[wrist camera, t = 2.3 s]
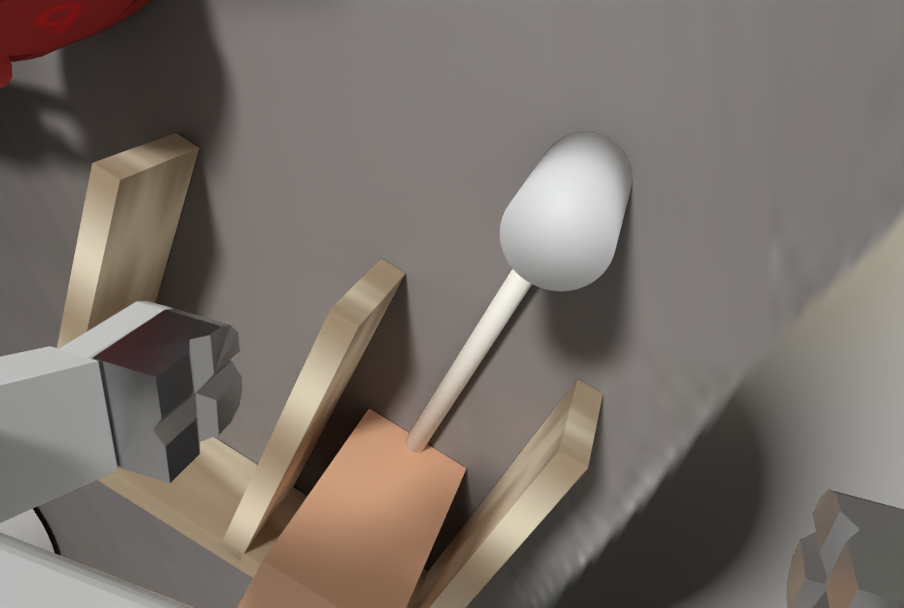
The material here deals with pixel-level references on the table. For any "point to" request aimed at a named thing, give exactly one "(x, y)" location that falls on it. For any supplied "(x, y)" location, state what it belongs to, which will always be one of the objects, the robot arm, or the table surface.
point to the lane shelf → (310, 404)
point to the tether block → (441, 405)
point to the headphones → (53, 26)
